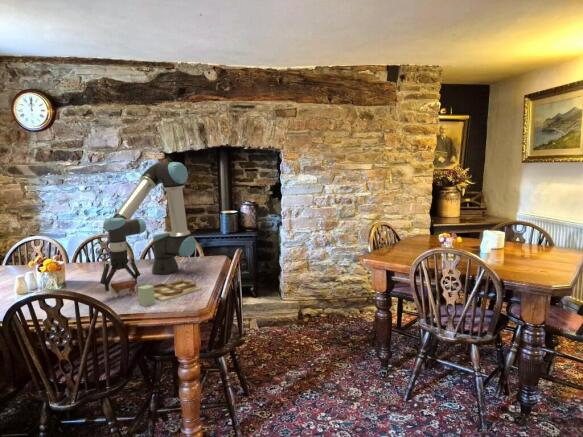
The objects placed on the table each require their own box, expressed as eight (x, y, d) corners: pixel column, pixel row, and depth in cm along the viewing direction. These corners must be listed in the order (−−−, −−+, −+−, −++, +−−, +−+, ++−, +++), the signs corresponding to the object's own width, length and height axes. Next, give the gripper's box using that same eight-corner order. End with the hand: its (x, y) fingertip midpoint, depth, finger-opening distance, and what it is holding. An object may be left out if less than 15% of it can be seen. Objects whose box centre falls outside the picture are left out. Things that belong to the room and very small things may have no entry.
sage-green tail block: (139, 304, 180) (137, 287, 178) (149, 301, 183) (148, 284, 182) (144, 306, 176) (143, 289, 175) (154, 303, 180) (153, 286, 179)
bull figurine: (107, 296, 191) (105, 280, 190) (136, 293, 195) (135, 277, 194) (106, 299, 187) (104, 282, 186) (136, 295, 191) (135, 279, 190)
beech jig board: (140, 293, 195) (140, 288, 195) (179, 282, 212) (179, 278, 211) (162, 301, 182) (162, 296, 182) (201, 289, 199) (201, 284, 198)
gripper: (96, 255, 177) (100, 302, 180) (145, 247, 195) (148, 289, 198) (89, 253, 182) (93, 299, 185) (138, 245, 200) (141, 286, 202)
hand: (122, 294), depth 191 cm, fingers closed on bull figurine, 11 cm apart
